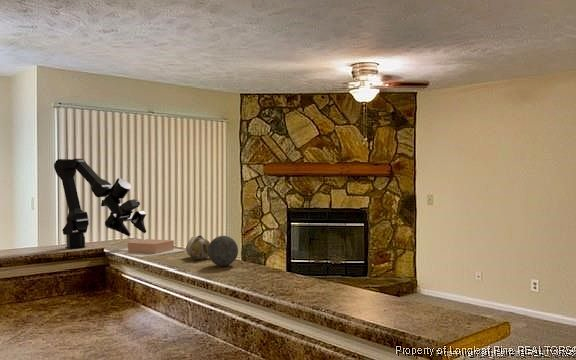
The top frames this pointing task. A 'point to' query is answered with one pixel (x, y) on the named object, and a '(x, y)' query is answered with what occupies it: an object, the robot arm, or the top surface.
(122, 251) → the mat
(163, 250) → the tile
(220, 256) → the decorative ball
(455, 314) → the top surface
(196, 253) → the ceramic sculpture
